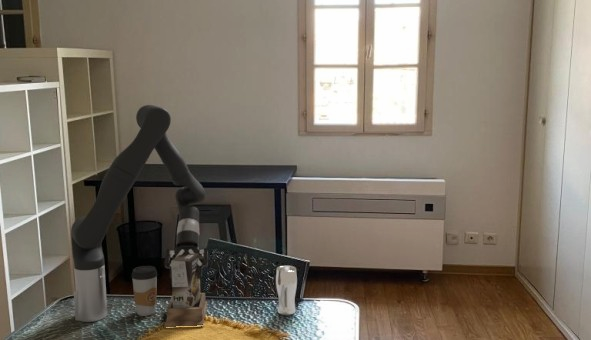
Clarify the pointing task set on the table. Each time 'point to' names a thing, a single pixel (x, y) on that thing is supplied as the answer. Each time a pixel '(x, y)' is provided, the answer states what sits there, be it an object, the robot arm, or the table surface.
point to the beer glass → (286, 289)
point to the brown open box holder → (186, 314)
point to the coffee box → (185, 281)
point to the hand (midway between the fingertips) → (185, 278)
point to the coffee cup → (145, 289)
